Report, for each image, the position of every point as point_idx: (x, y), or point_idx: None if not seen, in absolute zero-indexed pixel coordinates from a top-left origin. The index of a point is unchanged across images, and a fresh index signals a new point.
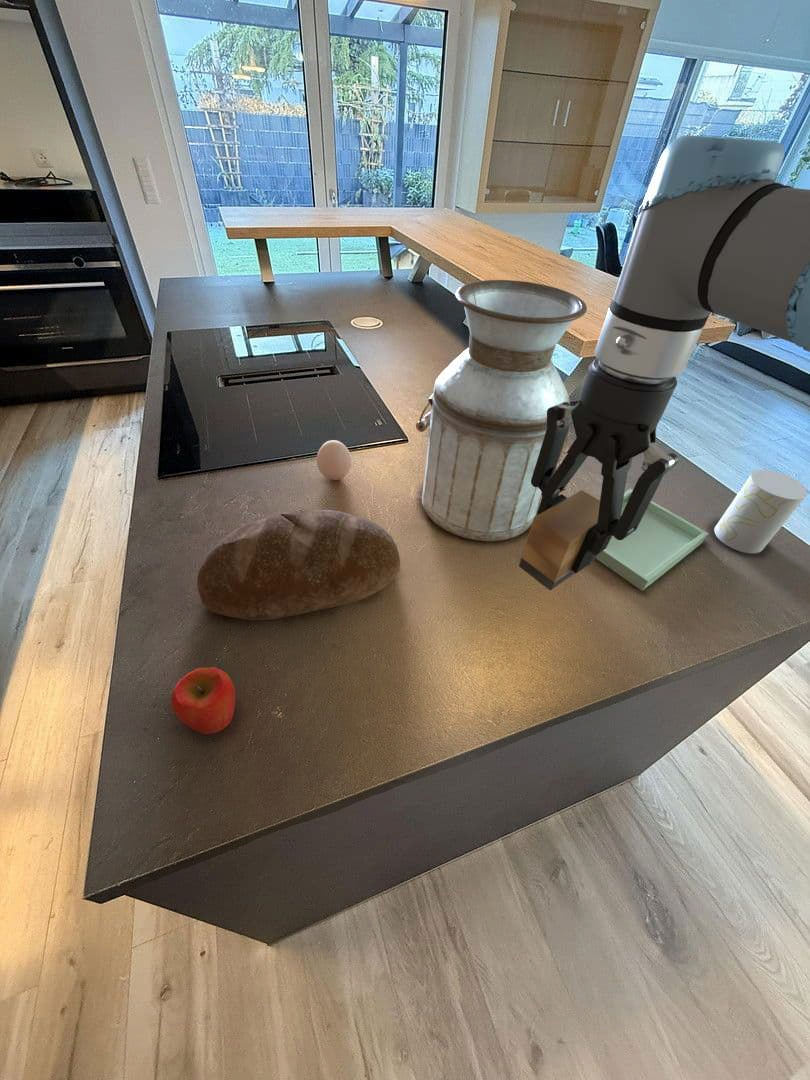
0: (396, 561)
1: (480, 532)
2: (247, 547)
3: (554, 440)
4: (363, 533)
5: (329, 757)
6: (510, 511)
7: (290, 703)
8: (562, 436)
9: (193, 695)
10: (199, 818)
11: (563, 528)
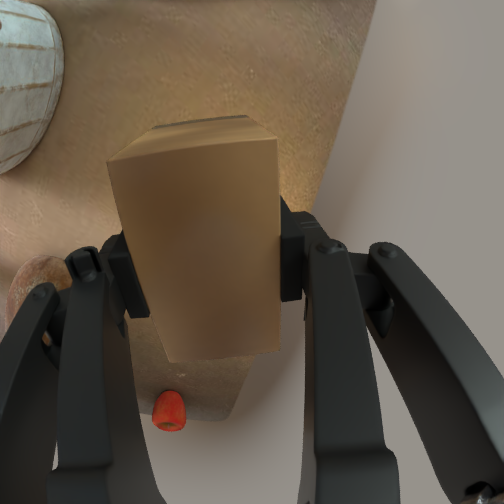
0: (66, 284)
1: (38, 130)
2: None
3: (45, 493)
4: (43, 337)
5: (227, 363)
6: (27, 93)
7: (177, 369)
8: (13, 478)
9: (170, 425)
10: (221, 403)
11: (237, 339)
